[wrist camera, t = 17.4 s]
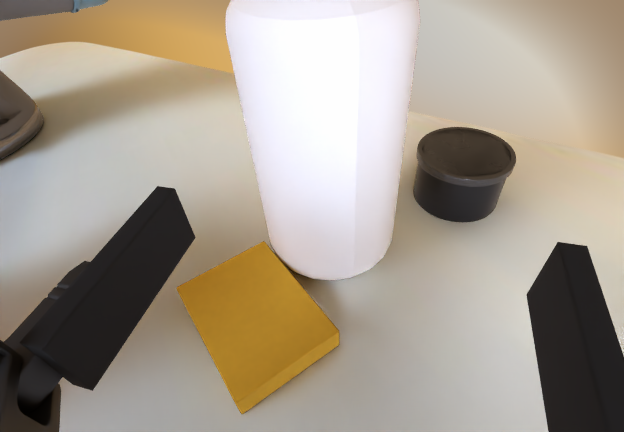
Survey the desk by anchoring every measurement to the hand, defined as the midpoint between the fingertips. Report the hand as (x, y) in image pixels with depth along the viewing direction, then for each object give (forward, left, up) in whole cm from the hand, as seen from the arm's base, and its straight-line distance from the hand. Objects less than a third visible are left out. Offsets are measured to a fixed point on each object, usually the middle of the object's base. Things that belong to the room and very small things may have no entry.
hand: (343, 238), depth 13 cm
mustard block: (-5, -3, -9) cm, 11 cm away
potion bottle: (-7, +4, -9) cm, 13 cm away
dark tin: (-5, +14, -9) cm, 18 cm away
